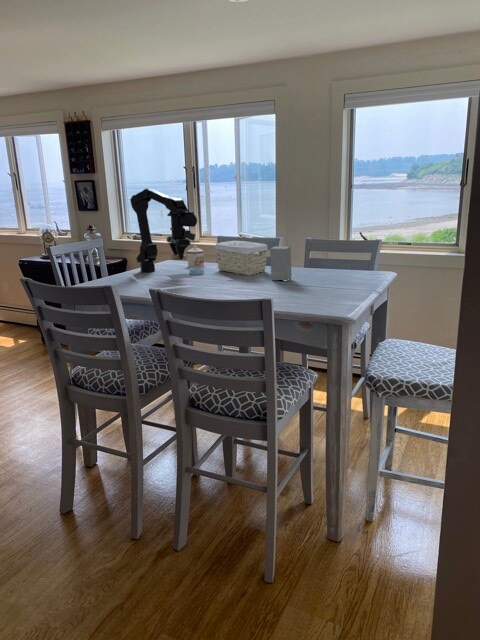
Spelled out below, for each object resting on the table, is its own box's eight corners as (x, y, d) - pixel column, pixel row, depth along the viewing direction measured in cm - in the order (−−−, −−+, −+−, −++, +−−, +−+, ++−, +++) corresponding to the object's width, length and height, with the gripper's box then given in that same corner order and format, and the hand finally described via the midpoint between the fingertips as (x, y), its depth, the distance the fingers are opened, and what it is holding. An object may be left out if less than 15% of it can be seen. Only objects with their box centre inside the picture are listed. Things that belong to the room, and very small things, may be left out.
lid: (174, 260, 224) (174, 256, 223) (170, 258, 230) (169, 254, 230) (188, 259, 227) (188, 255, 226) (183, 257, 233) (183, 253, 232)
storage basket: (269, 272, 244) (269, 243, 240) (247, 276, 233) (247, 247, 228) (236, 266, 260) (235, 240, 256) (214, 271, 249) (214, 243, 245)
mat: (173, 280, 225) (172, 278, 225) (166, 277, 234) (166, 275, 233) (192, 278, 229) (192, 276, 229) (186, 275, 238) (186, 273, 237)
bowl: (192, 277, 233) (192, 270, 232) (187, 275, 240) (187, 268, 239) (206, 276, 236) (205, 269, 235) (201, 273, 242) (200, 266, 241)
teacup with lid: (196, 269, 254) (195, 247, 251) (184, 267, 260) (183, 246, 256) (211, 265, 263) (210, 245, 260) (199, 264, 269) (198, 243, 265)
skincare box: (291, 279, 225) (292, 246, 220) (286, 282, 218) (287, 248, 214) (275, 278, 228) (275, 245, 224) (269, 281, 222) (269, 247, 217)
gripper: (200, 226, 219) (201, 259, 223) (187, 223, 235) (188, 254, 240) (177, 227, 214) (178, 261, 219) (165, 224, 231) (167, 256, 235)
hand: (179, 258), depth 228 cm, fingers closed on lid, 7 cm apart
